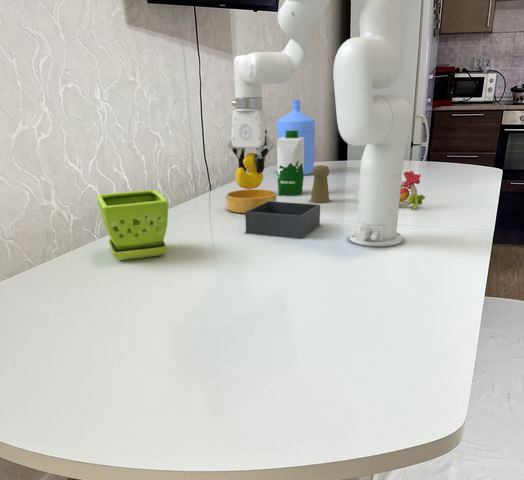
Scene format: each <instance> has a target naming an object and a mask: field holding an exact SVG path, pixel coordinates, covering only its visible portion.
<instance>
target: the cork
mask: <svg viewBox="0 0 524 480" xmlns="http://www.w3.org/2000/svg"><path fill="white" fill-rule="evenodd" d="M329 174H330V168H329V167H328V166H327V165H324V164H320V165H319V164H318V165H314V168H313V173H312V175H313V183H312V189H311V198H310V202H311V203H314V204H326V203H330V193H329V182H328V176H329Z"/></svg>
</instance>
